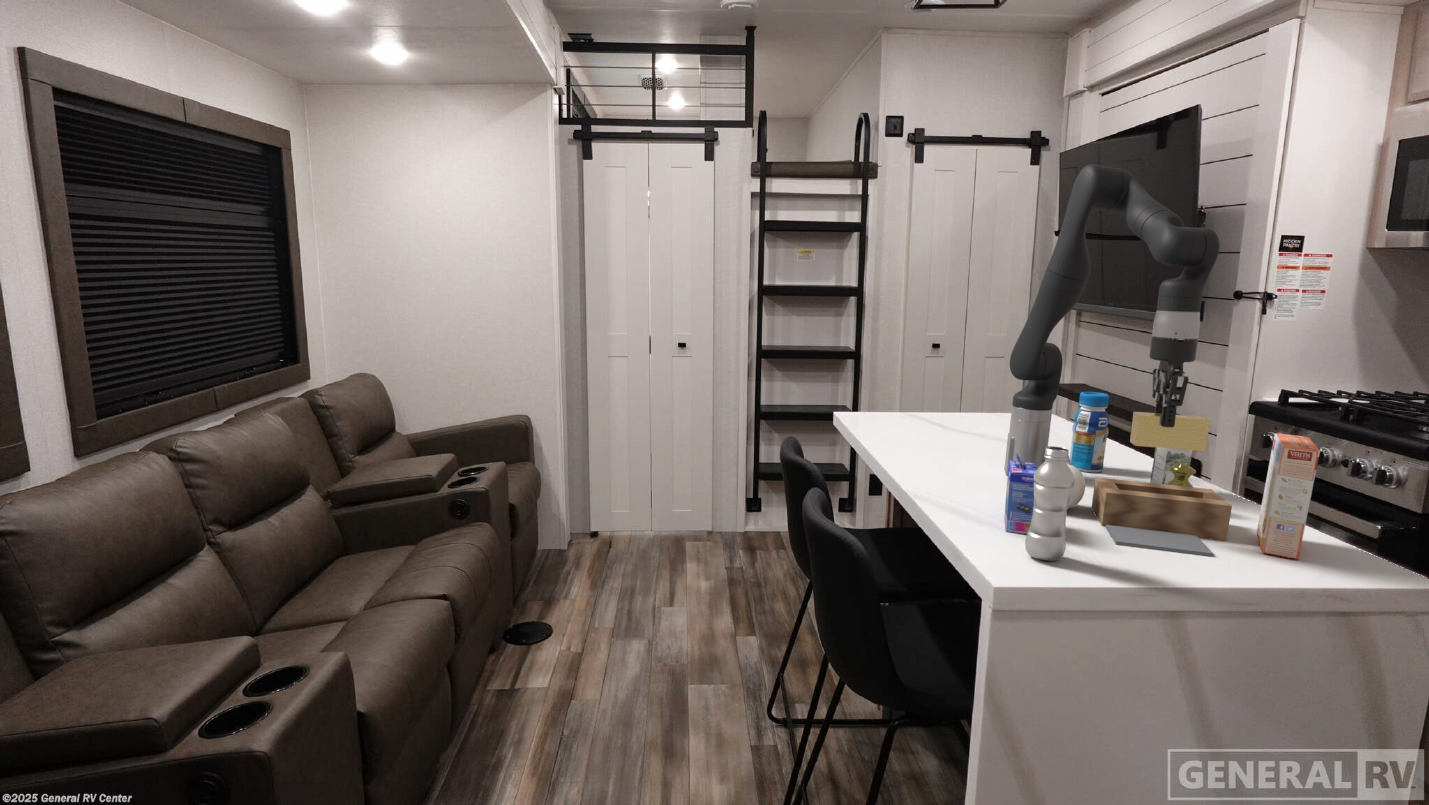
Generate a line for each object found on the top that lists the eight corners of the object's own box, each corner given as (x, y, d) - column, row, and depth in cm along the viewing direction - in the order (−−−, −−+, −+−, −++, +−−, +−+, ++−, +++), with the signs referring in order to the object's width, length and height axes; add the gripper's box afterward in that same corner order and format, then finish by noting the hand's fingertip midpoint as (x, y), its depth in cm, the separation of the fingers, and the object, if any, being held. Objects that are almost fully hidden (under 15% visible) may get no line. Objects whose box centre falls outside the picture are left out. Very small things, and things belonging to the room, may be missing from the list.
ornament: (1081, 505, 167) (1088, 452, 165) (1082, 518, 158) (1089, 462, 155) (1031, 498, 171) (1037, 446, 169) (1029, 510, 162) (1035, 456, 160)
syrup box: (1173, 486, 184) (1182, 428, 182) (1186, 494, 179) (1195, 433, 176) (1149, 485, 185) (1157, 427, 182) (1160, 492, 179) (1169, 432, 177)
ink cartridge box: (1002, 516, 157) (1009, 448, 155) (1031, 520, 155) (1038, 451, 153) (1003, 531, 148) (1011, 459, 145) (1034, 536, 146) (1042, 463, 144)
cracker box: (1301, 561, 138) (1321, 449, 134) (1260, 554, 141) (1279, 444, 137) (1292, 539, 149) (1311, 436, 146) (1255, 533, 152) (1273, 431, 149)
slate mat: (1115, 544, 143) (1116, 541, 143) (1105, 527, 152) (1105, 524, 152) (1212, 556, 139) (1213, 553, 138) (1195, 538, 148) (1196, 535, 148)
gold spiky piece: (1199, 508, 167) (1206, 465, 166) (1192, 516, 162) (1199, 470, 160) (1162, 501, 172) (1168, 458, 171) (1153, 507, 167) (1160, 463, 165)
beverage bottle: (1063, 463, 203) (1072, 390, 200) (1096, 466, 202) (1106, 392, 198) (1073, 472, 195) (1083, 395, 191) (1108, 474, 194) (1118, 397, 190)
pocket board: (1101, 525, 154) (1106, 492, 152) (1091, 508, 165) (1095, 477, 164) (1226, 540, 147) (1232, 506, 146) (1206, 521, 159) (1211, 489, 157)
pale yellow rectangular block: (1135, 445, 146) (1138, 415, 145) (1129, 441, 150) (1133, 411, 149) (1205, 451, 143) (1209, 419, 142) (1198, 446, 147) (1202, 416, 146)
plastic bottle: (1016, 551, 138) (1029, 444, 134) (1052, 551, 138) (1065, 444, 135) (1034, 565, 131) (1047, 453, 128) (1071, 565, 132) (1086, 453, 128)
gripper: (1142, 332, 151) (1132, 417, 154) (1163, 336, 137) (1152, 429, 140) (1185, 334, 149) (1174, 420, 152) (1210, 339, 135) (1198, 433, 138)
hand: (1163, 424), depth 146 cm, fingers closed on pale yellow rectangular block, 4 cm apart
